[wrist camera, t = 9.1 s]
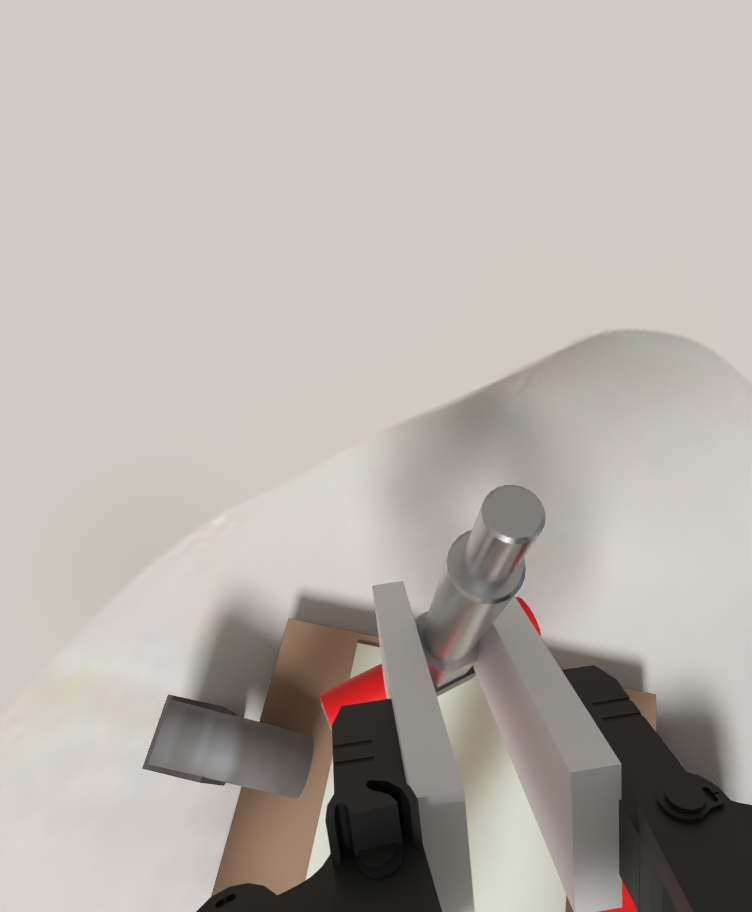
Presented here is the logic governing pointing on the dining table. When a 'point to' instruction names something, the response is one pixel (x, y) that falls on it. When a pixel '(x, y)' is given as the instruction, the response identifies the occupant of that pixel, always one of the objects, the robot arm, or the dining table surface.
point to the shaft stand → (312, 781)
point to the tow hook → (467, 603)
